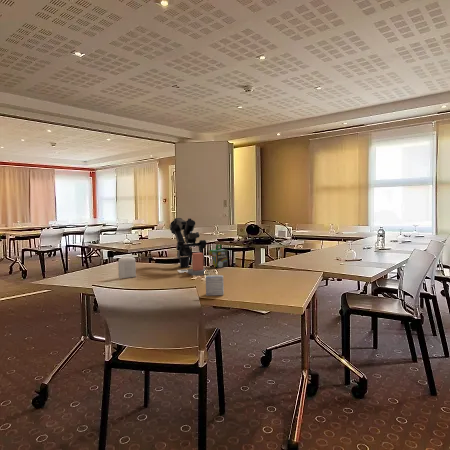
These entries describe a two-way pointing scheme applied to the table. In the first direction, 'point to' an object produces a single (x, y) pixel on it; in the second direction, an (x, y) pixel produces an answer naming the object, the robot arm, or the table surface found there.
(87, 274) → the table surface
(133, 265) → the photo printer
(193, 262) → the red block
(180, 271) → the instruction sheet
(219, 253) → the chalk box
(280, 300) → the table surface
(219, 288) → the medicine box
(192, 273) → the base brick
